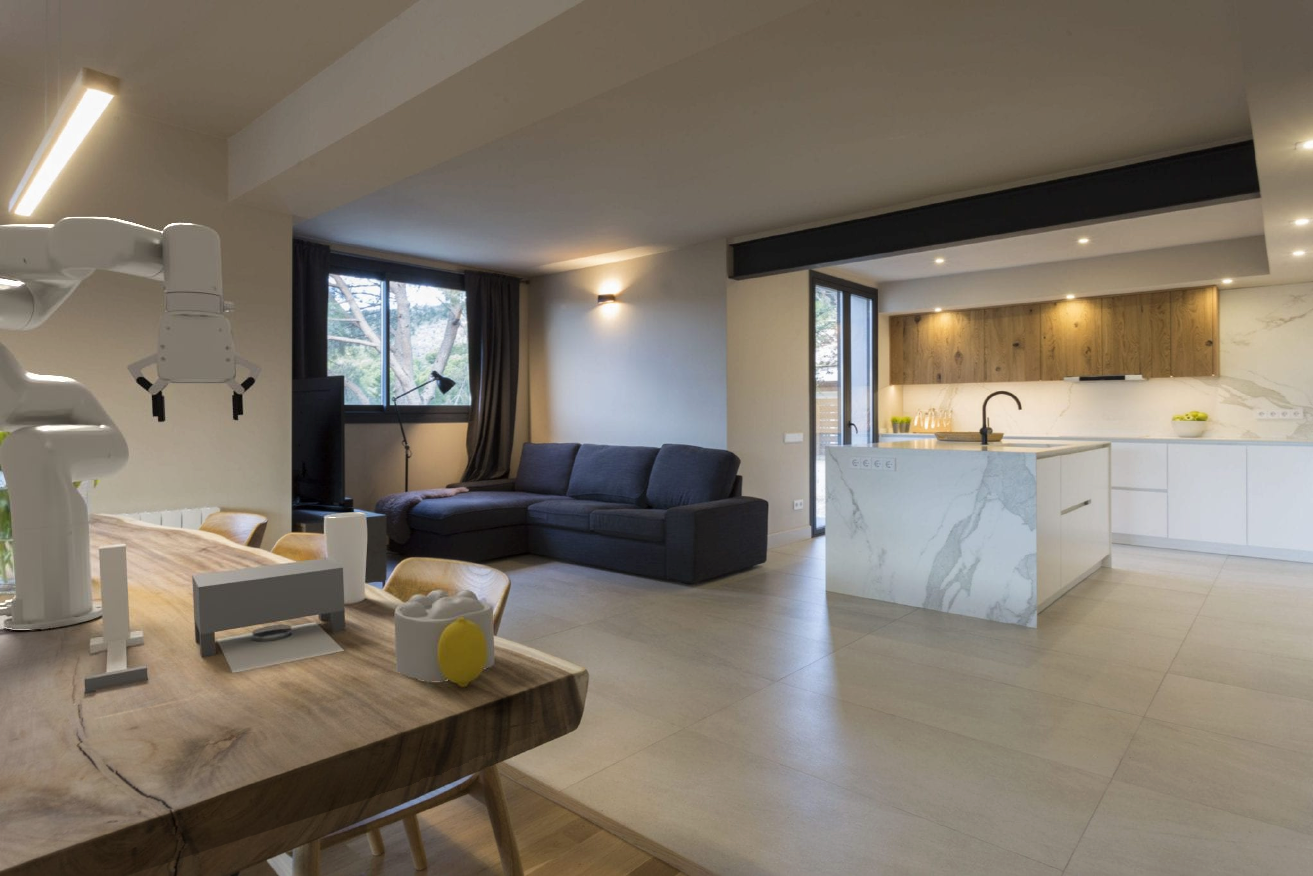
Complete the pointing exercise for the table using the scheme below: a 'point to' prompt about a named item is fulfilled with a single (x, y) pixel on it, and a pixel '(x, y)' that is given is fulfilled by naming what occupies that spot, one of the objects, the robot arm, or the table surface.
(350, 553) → the drinking glass
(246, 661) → the mat
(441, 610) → the lumpy-topped squat cylinder
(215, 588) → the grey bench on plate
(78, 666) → the table surface
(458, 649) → the lemon
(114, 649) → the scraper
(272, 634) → the disc
